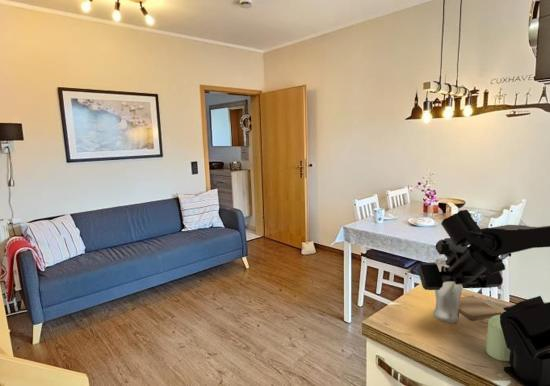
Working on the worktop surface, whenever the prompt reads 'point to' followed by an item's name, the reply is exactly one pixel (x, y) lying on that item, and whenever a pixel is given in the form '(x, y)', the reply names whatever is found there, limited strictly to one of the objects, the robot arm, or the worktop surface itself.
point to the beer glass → (447, 298)
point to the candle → (496, 340)
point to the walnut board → (476, 308)
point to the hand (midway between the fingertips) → (445, 287)
